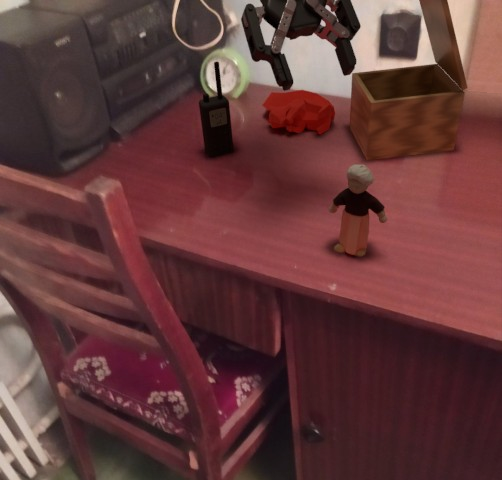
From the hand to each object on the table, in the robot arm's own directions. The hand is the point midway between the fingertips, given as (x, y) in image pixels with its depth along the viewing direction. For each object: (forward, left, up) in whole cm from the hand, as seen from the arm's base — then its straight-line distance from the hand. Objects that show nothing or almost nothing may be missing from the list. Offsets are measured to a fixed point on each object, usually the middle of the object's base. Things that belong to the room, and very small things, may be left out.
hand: (319, 79), depth 73 cm
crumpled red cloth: (-1, -31, -20) cm, 37 cm away
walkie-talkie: (+13, -23, -20) cm, 33 cm away
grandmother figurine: (-3, +10, -20) cm, 22 cm away
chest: (-18, -20, -19) cm, 33 cm away
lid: (-22, -20, -2) cm, 30 cm away
